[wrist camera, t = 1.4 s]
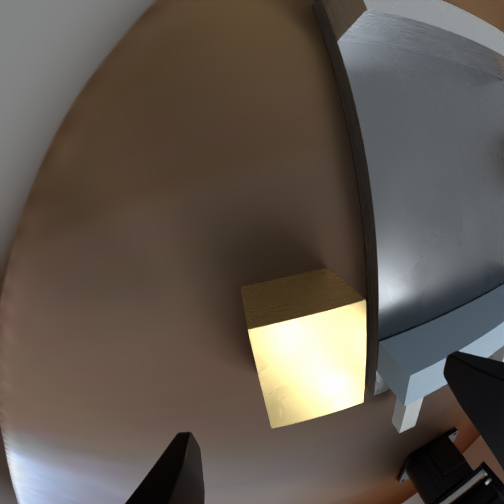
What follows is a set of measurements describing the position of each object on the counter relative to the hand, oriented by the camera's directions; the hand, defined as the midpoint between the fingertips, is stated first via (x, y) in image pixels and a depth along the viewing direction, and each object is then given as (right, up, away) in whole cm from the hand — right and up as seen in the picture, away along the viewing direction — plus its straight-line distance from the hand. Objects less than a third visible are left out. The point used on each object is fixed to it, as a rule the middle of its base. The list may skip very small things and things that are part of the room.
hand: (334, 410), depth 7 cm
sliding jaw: (+11, -1, +6) cm, 13 cm away
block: (-1, +1, +6) cm, 6 cm away
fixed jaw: (+8, +17, +2) cm, 18 cm away
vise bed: (+9, +8, +5) cm, 13 cm away
